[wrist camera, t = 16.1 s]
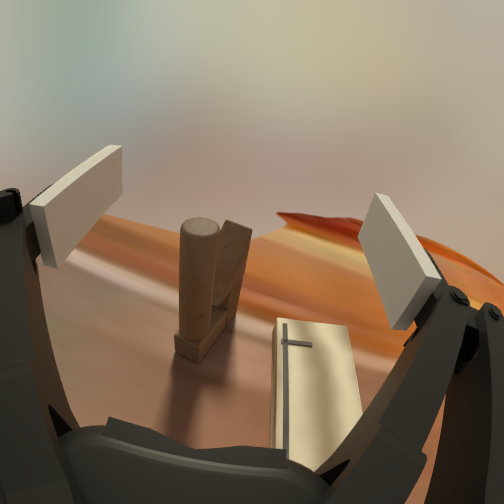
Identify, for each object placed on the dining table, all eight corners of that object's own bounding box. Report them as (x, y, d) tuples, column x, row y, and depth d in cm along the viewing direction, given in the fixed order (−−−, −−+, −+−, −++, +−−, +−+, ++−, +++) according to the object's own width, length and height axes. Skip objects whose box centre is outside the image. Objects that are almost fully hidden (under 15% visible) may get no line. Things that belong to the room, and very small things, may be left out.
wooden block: (237, 312, 43) (259, 199, 33) (198, 365, 35) (207, 243, 24) (215, 302, 44) (229, 189, 34) (173, 351, 36) (171, 228, 25)
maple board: (263, 554, 17) (271, 556, 15) (272, 331, 41) (277, 316, 39) (360, 545, 17) (375, 544, 15) (339, 339, 42) (347, 325, 40)
